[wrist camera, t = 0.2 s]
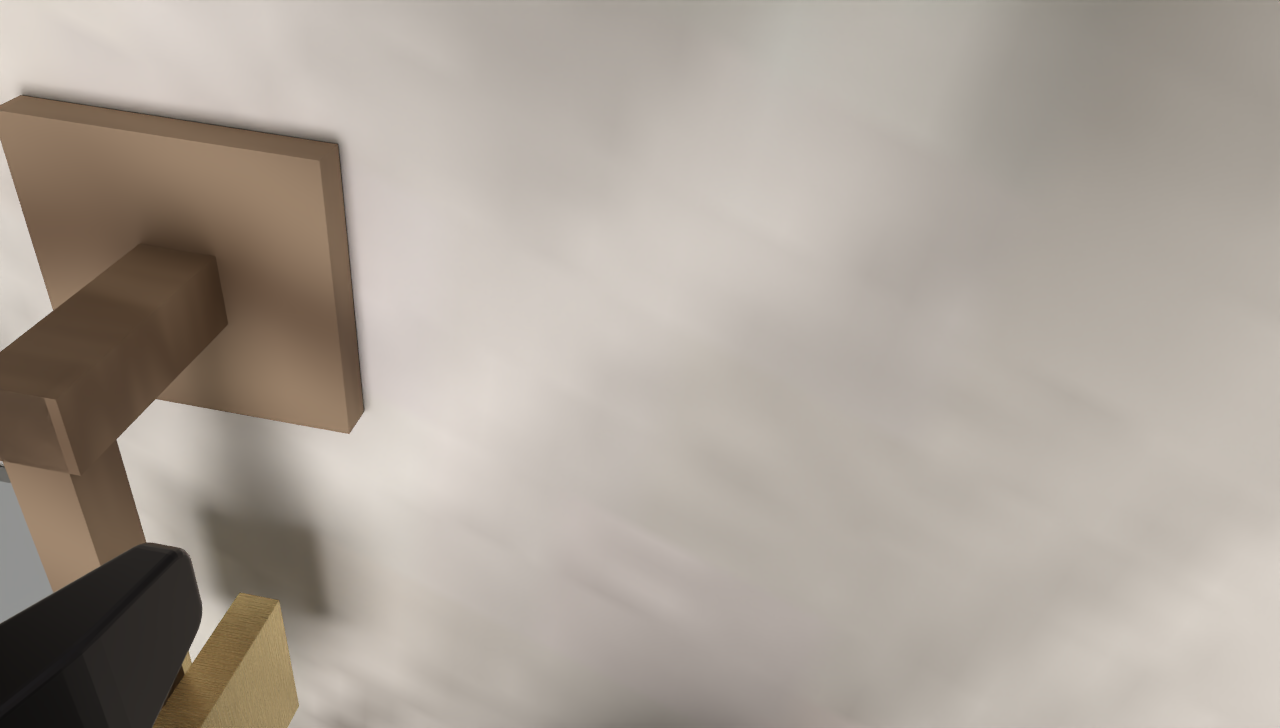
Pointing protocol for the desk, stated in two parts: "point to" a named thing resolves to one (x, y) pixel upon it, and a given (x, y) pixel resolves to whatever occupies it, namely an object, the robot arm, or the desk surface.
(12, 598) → the slate mat
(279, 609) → the slotted brass block
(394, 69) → the desk surface
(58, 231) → the walnut stand
